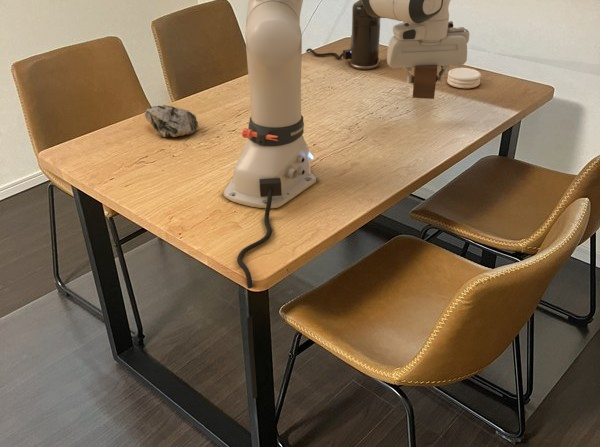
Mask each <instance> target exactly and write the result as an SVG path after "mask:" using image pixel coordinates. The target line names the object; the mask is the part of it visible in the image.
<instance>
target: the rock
mask: <svg viewBox="0 0 600 447" xmlns="http://www.w3.org/2000/svg"><path fill="white" fill-rule="evenodd" d="M144 118H145V119H146V121H147V122H149V124H150V125H151V126H153V129H154V131H156V132H157V134H159V135H160V137H163V138H171V137H173V138H177V137H180V136H185V135H191V134H194V133H195V131H197V130H198V129H199V121H198V120H197V116H196V114H194V113H193V112H191V111H189V110H187V109H184V108H180V107H174V106H172V105H166V104H163V105H154V106H149V107H147V108H146V109H145V113H144Z"/></svg>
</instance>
